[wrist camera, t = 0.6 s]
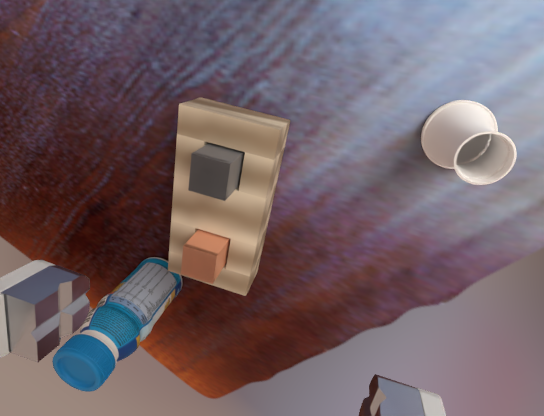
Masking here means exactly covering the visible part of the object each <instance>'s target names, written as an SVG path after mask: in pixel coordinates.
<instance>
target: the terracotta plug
mask: <svg viewBox="0 0 544 416" xmlns="http://www.w3.org/2000/svg"><path fill="white" fill-rule="evenodd" d="M230 240H231V239H230V238H226V237H223V236H220V235H217V234H213V233H210V232H207V231H203V230H200V229H198V230H197V231H196V232H195V234H194V235H193V236H192V237H191V238H190V239H189V240H188V241H187V242H186V243H185V244H184V246H183V255H182V266H181V274H183V275H186V276H189V277H192V278H195V279H198V280H201V281H204V282H207V283H210V284H213V283H214V281H215V280H216V278H217V277H218V275H219V274H220V272H221V270H222V269H223V267H224V266H225V264H226V263H227V258H228V252H229V246H230Z"/></svg>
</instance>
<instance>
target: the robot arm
mask: <svg viewBox="0 0 544 416" xmlns="http://www.w3.org/2000/svg"><path fill="white" fill-rule="evenodd" d="M89 289H90V282H89V278H88V277H86V276H85V275H82V274H80V273H77V272H74V271H71V270H69V269H66V268H63V267H61V266H58V265H54V264H51V263H49V262H46V261H43V260H35V261H33V262H31V263H29V264H27V265H25V266H23V267H21V268H19V269H17V270H15V271H13V272H11V273H9V274H7V275H5V276H3V277H1V278H0V358H1V357H3V356H6V355H8V354H9V352H10V353H13V354H16V355H18V356H21V357H24V358H27V359H30V360H33V361H35V362H39V361H40V360H41V359H43V358H44V357H45V356H46V355H48V354H49V353H50V352H51V351H52V350H54V349H55V348H56V347H57V346H59V343H60V339H61V337H65V336H67V335H71V334H73V333H74V332H75V331H76V330H78V329H79V328H80V327H81V326H82V324H83V323H84V321H85V320H86V318H87V315H88V312H89V305H90V302H89V300H88V298H87V296H86V295H85V293H86V292H87V291H88V290H89ZM369 394H370V395H369V397H367V398H365V399H364V400H363V403H362V406H361V409H360V412H359V416H446V413H445V410H444V406H443V403H442V399H441V397H440V396H439V395H438V394H435V393H432V392H429V391H426V390H423V389H419V388H415V387H412V386H409V385H406V384H403V383H400V382H397V381H394V380H391V379H388V378H385V377H382V376H379V375H376V374H375V375H374V377H373V378H372V380H371V383H370V385H369Z"/></svg>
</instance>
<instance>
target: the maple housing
mask: <svg viewBox="0 0 544 416" xmlns="http://www.w3.org/2000/svg"><path fill="white" fill-rule="evenodd" d="M289 125H290V120H288V119H284V118H280V117H276V116H272V115H268V114H264V113H260V112H256V111H252V110H248V109H245V108H241V107H237V106H233V105H229V104H225V103H221V102H217V101H213V100H209V99H205V98H198V99H194V100H191V101H188V102H184V103H181V104H179V113H178V128H177V142H176V157H175V172H174V187H173V201H172V216H171V231H170V246H169V260H168V271H170V272H174V273H177V274H180V275H183V274H181V266H182V255H183V246H184V244H185V243H186V242H187V241H188V240H189V239H190V238H191V237H192V236H193V235H194V234H195V232H196V231H197V230H198V229H200V230H203V231H207V232H210V233H213V234H217V235H220V236H223V237H226V238H230V239H231V240H230V246H229V252H228V258H227V263H226V264H225V266H224V267H223V269H222V270H221V272H220V274H219V275H218V277H217V278H216V280H215V281H214V283H213V284H210V283H207V282H204V281H201V280H198V279H195V278H192V277H189V276H186V275H183V276H186V277H189V278H192V279H195V280H198V281H201V282H204V283H207V284H210V285H213V286H217V287H220V288H223V289H226V290H229V291H232V292H235V293H238V294H241V295H244V296H246V294H247V292H248V290H249V288H250V286H251V284H252V282H253V280H254V278H255V275H256V273H257V271H258V266H259V262H260V257H261V252H262V248H263V243H264V239H265V234H266V230H267V225H268V221H269V216H270V211H271V207H272V202H273V198H274V193H275V189H276V184H277V179H278V175H279V170H280V166H281V161H282V157H283V152H284V147H285V143H286V138H287V134H288V129H289ZM208 143H213V144H217V145H220V146H224V147H228V148H231V149H235V150H239V151H243V152H245V155H244V161H243V167H242V173H241V179H240V185H239V186H238V187H237V188H236V189H235V190H234V192H233V193H232V194H231V195H230V196H229V197H228V198H227V199H226V200H225V201H223V200H220V199H216V198H213V197H209V196H206V195H203V194H199V193H196V192H192V191H189V190H188V188H189V177H190V166H191V155H192V153H193V152H195V151H197V150H198V149H200V148H202V147H203V146H205V145H207V144H208Z"/></svg>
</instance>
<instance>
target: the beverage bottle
mask: <svg viewBox="0 0 544 416" xmlns="http://www.w3.org/2000/svg"><path fill="white" fill-rule="evenodd" d="M181 288H182V277H181V275H180V274H177V273H174V272H170V271H168V261H167V260H165V259H162V258H158V257H151V258H147V259H145V260H144V261H142V262H141V263H140V264H139V265H138V267H137V268H136V269H135V270H134V271H133V272H132V273H131V274H130V275H129V276H128V277H127V278H126V279H125V280H123V281H122V282H121V283H120V284H119V285H118V286H117V287H116V288H115V289H114V290H113V291H112V292H111V293H109V294H107V295H106V296H104V297H103V298H102V299H101V300H100V302H99V303H98V305H97V307H96V308H94V309H92V310H91V311H90V312H89V313H88V315H87V318H86V320H85V321H84V323H83V324H82V326H81V330H80V333H79V334H76V335H75V336H73V337H72V338H71V339H69V340H68V341H67V342H66V343H65V344H64V346H62V347H61V348H60V349H59V350H58V351H57V353H56V354H55V355H54V357H53V366H54V369H55V371H56V373H57V374H58V375H59V376H60V378H61V379H62V380H63V381H65V382H66V383H67V384H69V385H70V386H72V387H74V388H76V389H78V390H82V391H94V390H96V389H98V388H99V387H100V386H101V385H102V384H103V383H104V382H105V380H106V379H107V378H108V377H109V375H110V374H111V373H112V371H113V370H114V368H115V366H116V362H117V361H119V360H122V359H124V358H126V357H128V356H129V355H130V354H132V353H133V352H134V351H135V350H136V349H137V348H138V346H139V344H140V342H141V341H143V340H144V339H145V338H146V337H147V336H148V335H149V333H150V332H151V330H152V327H153V325H154V324H155V323H156V321H157V320H158V319H159V317H160V316H161V315H162V313H163V312H164V311H165V309H166V308H167V307H168V305H169V304H170V303H171V301H172V300H173V299H174V298H175V297H176V296H177V295H178V293H179V292H180V290H181Z"/></svg>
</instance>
